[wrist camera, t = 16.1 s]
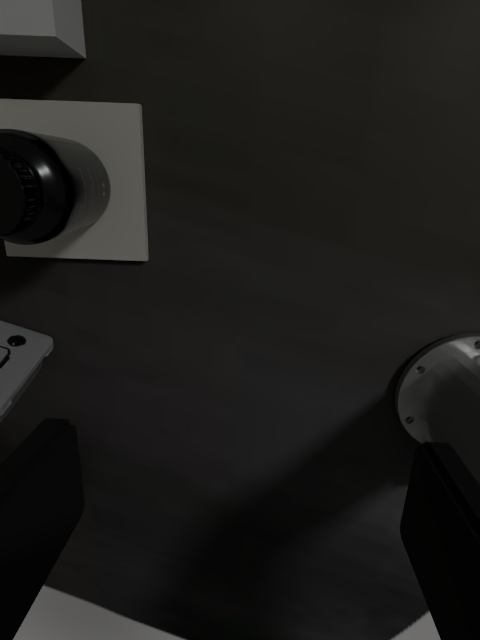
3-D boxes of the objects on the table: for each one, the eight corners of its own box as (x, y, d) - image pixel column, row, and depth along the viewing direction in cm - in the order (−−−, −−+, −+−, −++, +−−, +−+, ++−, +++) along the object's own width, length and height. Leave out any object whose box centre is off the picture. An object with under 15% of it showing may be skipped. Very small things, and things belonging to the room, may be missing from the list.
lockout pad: (148, 259, 35) (146, 261, 34) (12, 254, 35) (6, 255, 34) (141, 105, 31) (138, 103, 30) (-14, 99, 30) (-21, 97, 30)
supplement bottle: (29, 221, 33) (-83, 245, 22) (27, 131, 31) (-100, 106, 19) (112, 234, 33) (43, 265, 22) (116, 147, 31) (42, 131, 20)
